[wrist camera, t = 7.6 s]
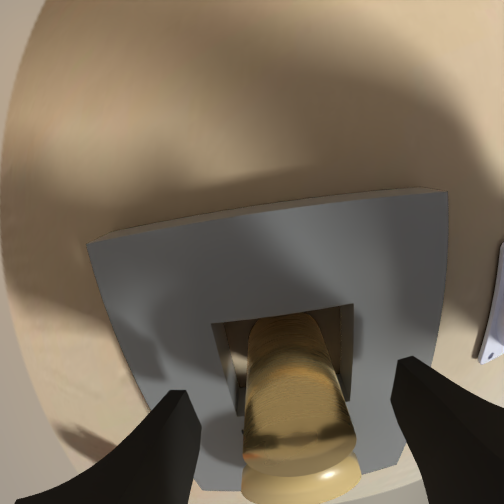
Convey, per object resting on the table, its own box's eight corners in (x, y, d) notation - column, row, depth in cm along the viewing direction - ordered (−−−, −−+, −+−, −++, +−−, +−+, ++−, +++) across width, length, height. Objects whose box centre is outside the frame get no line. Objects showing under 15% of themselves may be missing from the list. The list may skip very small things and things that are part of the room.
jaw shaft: (319, 303, 12) (362, 408, 6) (321, 362, 12) (351, 466, 7) (243, 314, 12) (232, 426, 6) (254, 371, 13) (251, 480, 7)
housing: (420, 186, 10) (493, 200, 6) (388, 444, 15) (406, 491, 10) (110, 232, 11) (43, 265, 6) (205, 468, 15) (197, 519, 11)
